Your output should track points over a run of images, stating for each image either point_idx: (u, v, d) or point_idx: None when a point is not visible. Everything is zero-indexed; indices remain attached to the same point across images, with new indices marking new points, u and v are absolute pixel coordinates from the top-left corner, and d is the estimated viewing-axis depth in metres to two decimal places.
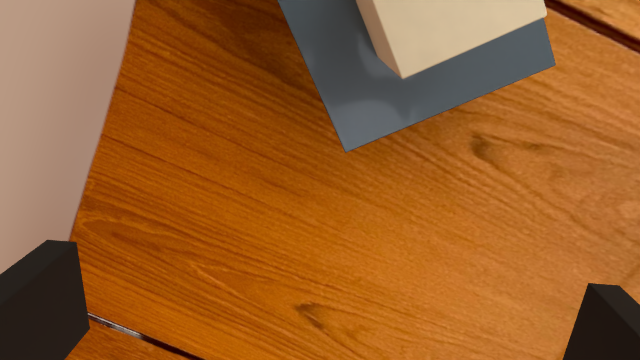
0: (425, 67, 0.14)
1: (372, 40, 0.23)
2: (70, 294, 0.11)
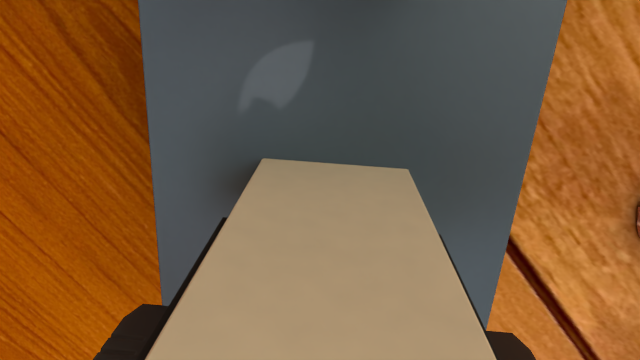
0: None
1: None
2: None
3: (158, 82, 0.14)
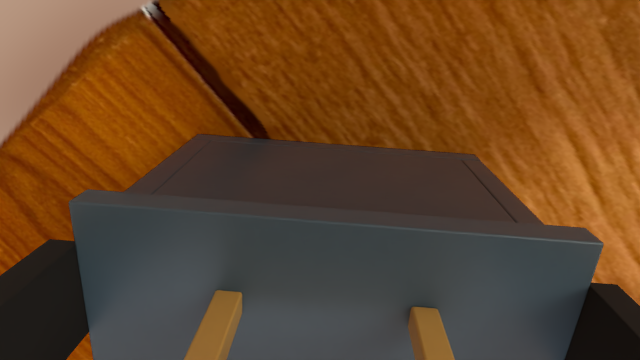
0: None
1: None
2: (72, 293, 0.11)
3: None
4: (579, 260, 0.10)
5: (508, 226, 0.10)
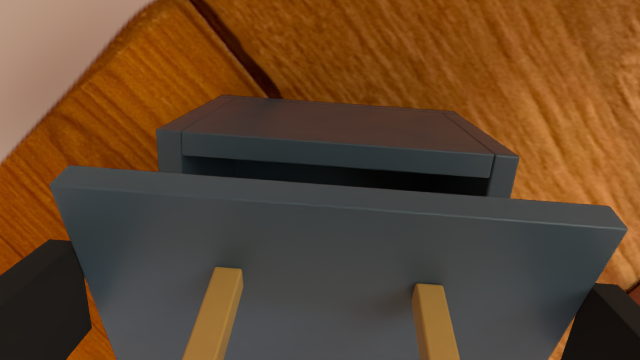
0: None
1: None
2: (72, 293, 0.11)
3: None
4: (598, 244, 0.09)
5: (524, 207, 0.10)
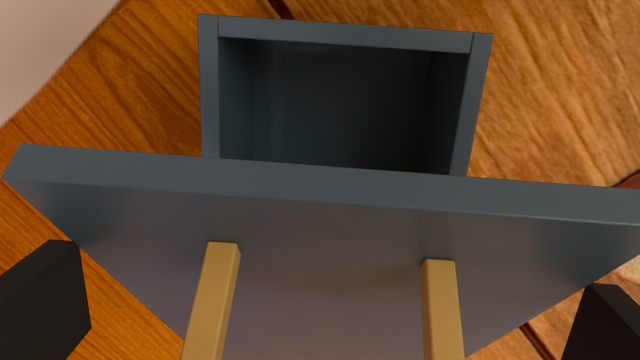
0: None
1: None
2: (72, 293, 0.11)
3: (144, 293, 0.14)
4: None
5: (563, 197, 0.08)
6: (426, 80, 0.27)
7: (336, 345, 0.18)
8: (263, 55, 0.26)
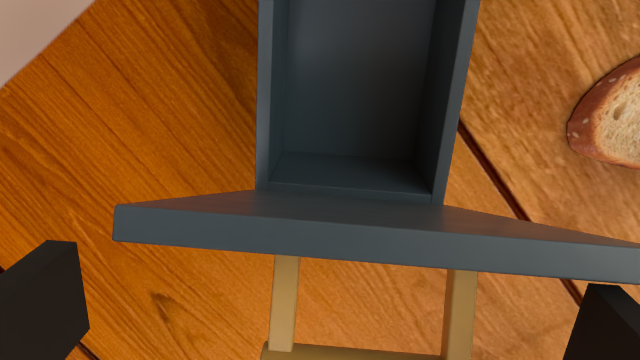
0: None
1: None
2: (70, 294, 0.11)
3: None
4: None
5: (581, 258, 0.10)
6: None
7: None
8: None
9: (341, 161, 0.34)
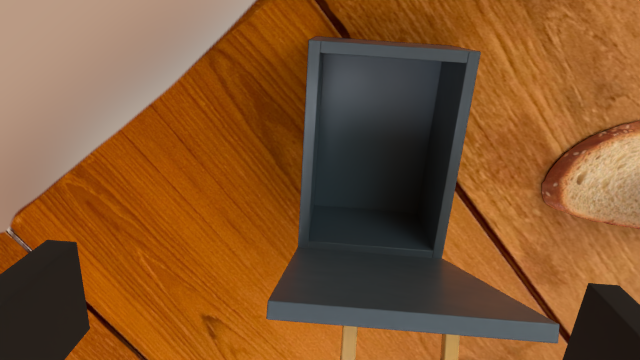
0: None
1: None
2: (70, 294, 0.11)
3: None
4: None
5: (511, 328, 0.18)
6: (438, 78, 0.40)
7: None
8: (330, 61, 0.40)
9: (361, 216, 0.43)
